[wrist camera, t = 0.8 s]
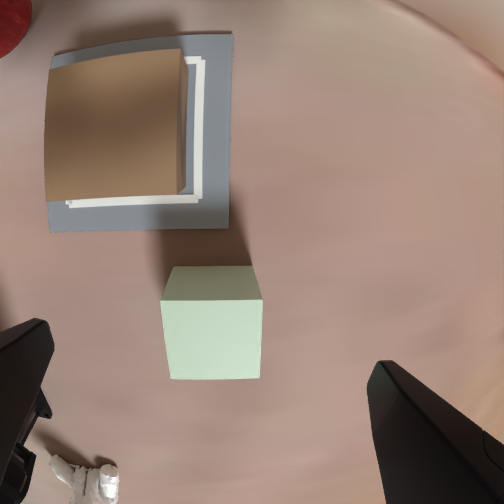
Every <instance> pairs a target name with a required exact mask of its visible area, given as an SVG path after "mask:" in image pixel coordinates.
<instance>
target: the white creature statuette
mask: <svg viewBox="0 0 504 504" xmlns="http://www.w3.org/2000/svg"><path fill="white" fill-rule="evenodd" d="M49 465H50V467H51V468H52V469H53V470H54V472H55V475H56V477H57V478H59V479H61V480H62V481H63V482H65V483H67V484H68V485H69V486H70V488H71V490H72V496H71V499H72V500H71V501H70V502H69V504H117V502H118V501H117V500H118V495H119V494H118V493H117V492H118V489H119V488H118V484H119V480H120V479H119V473H118V470H117V468H116V467H115V466H111V465H110V464H106V465H103V466H102V467H101V468H100V469H96V468H94V469H92V468H89V469H86V468H85V467H84V466H82V467H81V468H80V466H79V465H72V464H68V463H67V462H66V461H64V460H63V459H62V458H61V457H59V456H58V455H54V456H53V457H52V458H51V459H50V461H49ZM73 467H76V468H73ZM87 471H88V473H87Z"/></svg>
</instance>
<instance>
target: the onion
mask: <svg viewBox="0 0 504 504" xmlns="http://www.w3.org/2000/svg"><path fill="white" fill-rule="evenodd" d="M31 14H32V5H31V1H30V0H0V58H2V57H4V56H5V55H7V54H8V53H10V52H11V51H12V50H13V49H14V48H15V47H16V46H17V45H18V44H19V43H20V41H21V40H22V38H23V37H24V36H25V34H26V31H27V29H28V26H29V24H30V21H31Z"/></svg>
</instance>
